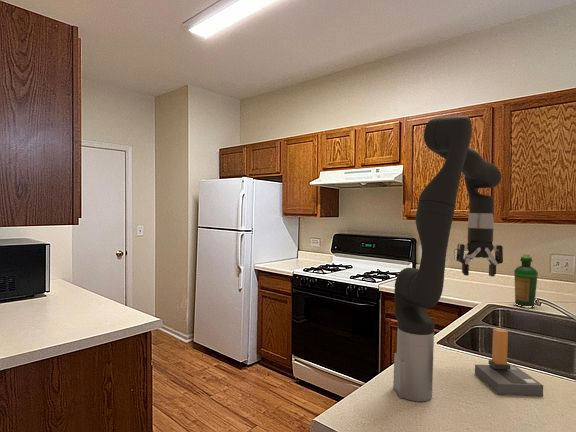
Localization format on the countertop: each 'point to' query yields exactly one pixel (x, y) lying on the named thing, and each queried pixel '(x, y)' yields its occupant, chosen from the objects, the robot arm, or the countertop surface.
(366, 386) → the countertop surface
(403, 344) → the robot arm
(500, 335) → the handle
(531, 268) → the bottle
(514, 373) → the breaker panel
